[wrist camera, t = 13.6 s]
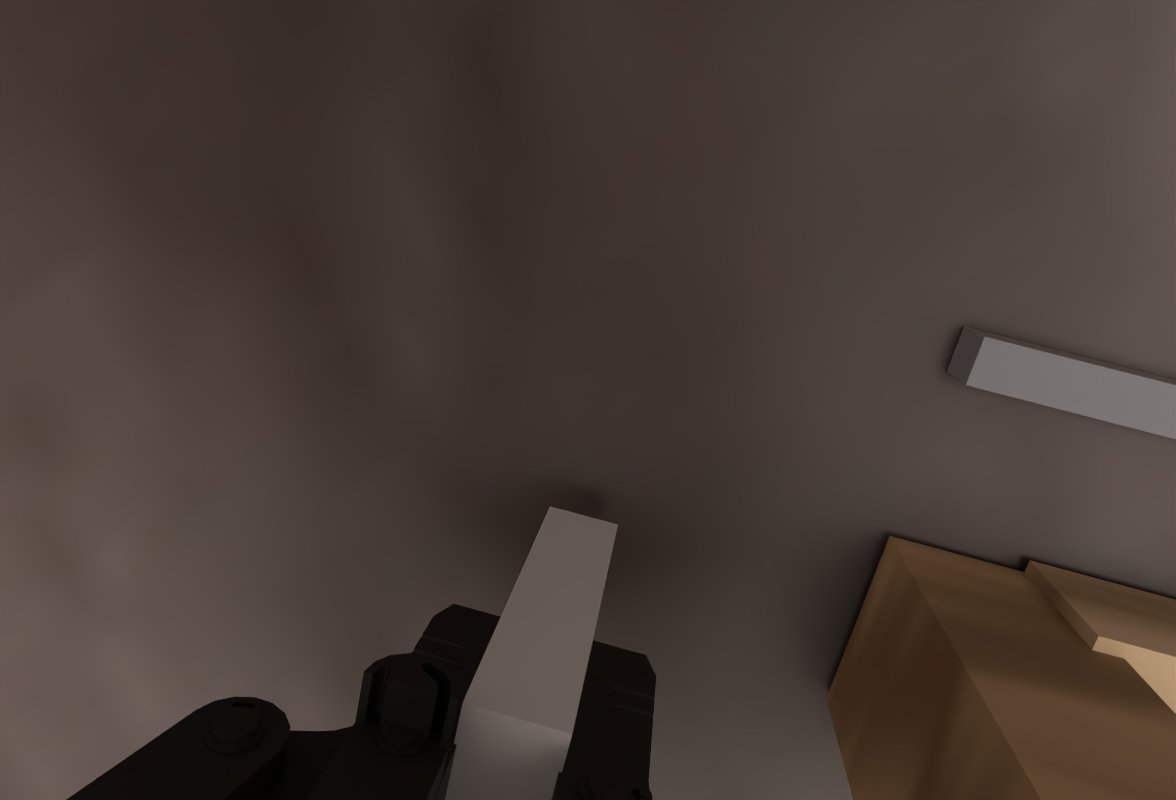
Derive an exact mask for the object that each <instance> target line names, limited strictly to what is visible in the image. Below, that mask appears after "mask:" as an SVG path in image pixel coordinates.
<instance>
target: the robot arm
mask: <svg viewBox="0 0 1176 800" xmlns="http://www.w3.org/2000/svg"><path fill="white" fill-rule="evenodd" d="M617 527H618V524H614V523H610V522H607V521H603V520H599V519H595V518H592V517H588V516H584V515H581V514H577V513H573V512H569V511H566V510H562V509H558V508H555V507H551V506H550V507H549V509H548V512H547V514H546V516H545V518H544V521H543V523H542V525H541V527H540V530H539V532H538V534H537V536H536V539H535V541H534V543H533V545H532V548H531V550H530V552H529V554H528V557H527V559H526V561H525V563H524V566H523V568H522V570H521V572H520V575H519V577H518V579H517V581H516V584H515V586H514V588H513V590H512V593H511V595H510V597H509V599H508V602H507V604H506V606H505V608H504V611H503V613H502V615H501V617H499V616H496V615H492V614H489V613H485V612H482V611H478V610H474V609H471V608H467V607H464V606H460V605H456V604H453V605H451V606H449V607H448V608H446V609H444V610H443V611H441V612H439V613H438V614H436V615H435V616H433V618H432V620H431V621H430V623H429V625H428V626H427V628H426V630H425V631H424V633H423V636H422V637H421V638H420V640H419V641H418V643H417V644H416V646H415V648H414V651H413V652H412V653H411V654H410V653H408V654H398V655H390V656H387V657H385V658H382V659H380V660H377V661H375V662H374V663H373V664H372V665H371V666H370V667H368V668H367V669H366V670H365V671H364V675H363V681H362V687H361V692H360V698H359V704H358V710H357V716H356V722H355V724H354V725H353V726H351V727H348V728H343V729H339V730H335V731H289V730H290V725H289V722H288V720H287V717H286V715H285V713H284V712H283V711H282V710H280V709H279V708H278V707H277V706H276V705H274V704H273V703H271V702H268V701H265V700H261V699H258V698H255V697H231V698H226V699H222V700H217V701H213V702H211V703H209V704H207V705H205V706H203V707H201V708H199V709H197V710H195V711H194V712H193V713H191V714H190V715H188V716H187V717H185V718H184V719H182V720H181V721H180V722H178V723H177V724H175V725H174V726H172V727H171V728H169V729H168V730H167V731H165V732H164V733H162V734H161V735H159V736H158V737H156V738H155V739H153V740H152V741H151V742H149V743H148V744H146V745H145V746H143V747H142V748H140V749H139V750H138V751H136V752H135V753H133V754H132V755H130V756H129V757H127V758H126V759H125V760H123V761H122V762H120V763H119V764H117V765H116V766H114V767H113V768H112V769H110V770H109V771H107V772H106V773H104V774H103V775H101V776H100V777H99V778H97V779H96V780H94V781H93V782H91V783H90V784H88V785H87V786H86V787H84V788H83V789H81V790H80V791H78V792H77V793H75V794H74V795H72V796H71V797H70V798H68V799H67V800H653V799H652V794H651V792H650V790H649V781H648V780H649V766H650V753H651V739H652V725H653V712H654V697H655V684H656V675H655V673H654V671H653V669H652V667H651V665H650V663H649V661H648V658H647V656H646V655H643V654H640V653H636V652H633V651H629V650H625V649H622V648H618V647H615V646H611V645H608V644H604V643H600V642H597V641H593V637H594V633H595V628H596V623H597V619H598V614H599V610H600V605H601V600H602V596H603V591H604V587H605V582H606V578H607V573H608V568H609V564H610V559H611V555H612V550H613V546H614V541H615V536H616V532H617Z"/></svg>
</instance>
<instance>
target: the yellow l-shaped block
mask: <svg viewBox="0 0 1176 800" xmlns="http://www.w3.org/2000/svg"><path fill="white" fill-rule="evenodd" d="M827 702H828V706H829V709H830V713H831V717H832V721H833V724H834V728H835V732H836V736H837V739H838V743H839V747H840V751H841V754H842V758H843V762H844V766H845V769H846V773H847V777H848V781H849V784H850V788H851V792H852V796H853V800H1176V600H1175V599H1171V598H1167V597H1164V596H1160V595H1156V594H1153V593H1149V592H1145V591H1142V590H1138V589H1134V588H1130V587H1127V586H1123V585H1119V584H1116V583H1112V582H1108V581H1105V580H1101V579H1097V578H1093V577H1090V576H1086V575H1082V574H1079V573H1075V572H1071V571H1068V570H1064V569H1060V568H1056V567H1053V566H1049V565H1045V564H1042V563H1038V562H1034V561H1031V560H1030V561H1029V563H1028V565H1027V568H1026V570H1025V572H1022V571H1018V570H1014V569H1011V568H1007V567H1003V566H1000V565H996V564H992V563H989V562H985V561H981V560H978V559H974V558H970V557H967V556H963V555H959V554H956V553H952V552H948V551H944V550H941V549H937V548H933V547H930V546H926V545H922V544H919V543H915V542H911V541H908V540H904V539H900V538H896V537H893V536H889V539H888V541H887V544H886V547H885V549H884V552H883V554H882V557H881V559H880V562H879V565H878V567H877V570H876V572H875V575H874V578H873V580H872V583H871V585H870V588H869V590H868V593H867V596H866V598H865V601H864V603H863V606H862V608H861V611H860V614H859V616H858V619H857V621H856V624H855V626H854V629H853V632H852V634H851V637H850V639H849V642H848V644H847V647H846V650H845V652H844V655H843V657H842V660H841V663H840V665H839V668H838V670H837V673H836V675H835V678H834V681H833V683H832V686H831V688H830V691H829V693H828V696H827Z"/></svg>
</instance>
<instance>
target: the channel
mask: <svg viewBox="0 0 1176 800" xmlns="http://www.w3.org/2000/svg"><path fill="white" fill-rule="evenodd" d="M947 372H948V373H950V374H951V375H952V376H954V377H955V378H957V379H958V380H959V381H961V382H962V383H964V384H965V385H967V386H971V387H975V388H979V389H983V390H987V391H991V392H994V393H998V394H1002V395H1006V396H1010V397H1014V398H1018V399H1022V400H1025V401H1029V402H1033V403H1037V404H1041V405H1045V406H1049V407H1053V408H1056V409H1060V410H1064V411H1068V412H1072V413H1076V414H1080V415H1084V416H1087V417H1091V418H1095V419H1099V420H1103V421H1107V422H1111V423H1114V424H1118V425H1122V426H1126V427H1130V428H1134V429H1138V430H1142V431H1145V432H1149V433H1153V434H1157V435H1161V436H1165V437H1169V438H1173V439H1176V380H1174V379H1170V378H1166V377H1162V376H1158V375H1154V374H1150V373H1146V372H1143V371H1139V370H1135V369H1131V368H1127V367H1123V366H1119V365H1115V364H1111V363H1107V362H1103V361H1099V360H1095V359H1091V358H1087V357H1083V356H1079V355H1076V354H1072V353H1068V352H1064V351H1060V350H1056V349H1052V348H1048V347H1044V346H1040V345H1036V344H1032V343H1028V342H1024V341H1020V340H1016V339H1013V338H1009V337H1005V336H1001V335H997V334H993V333H989V332H985V331H981V330H977V329H973V328H969V327H965V326H964V327H963V330H962V332H961V335H960V338H959V340H958V343H957V345H956V348H955V351H954V353H953V356H952V358H951V361H950V364H949V366H948V369H947Z"/></svg>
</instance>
